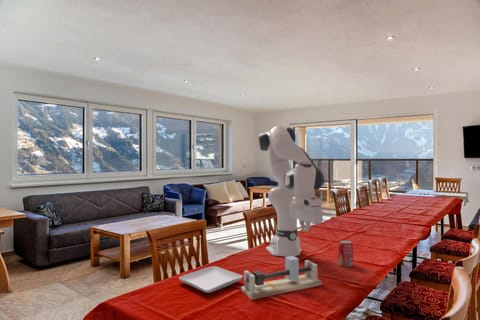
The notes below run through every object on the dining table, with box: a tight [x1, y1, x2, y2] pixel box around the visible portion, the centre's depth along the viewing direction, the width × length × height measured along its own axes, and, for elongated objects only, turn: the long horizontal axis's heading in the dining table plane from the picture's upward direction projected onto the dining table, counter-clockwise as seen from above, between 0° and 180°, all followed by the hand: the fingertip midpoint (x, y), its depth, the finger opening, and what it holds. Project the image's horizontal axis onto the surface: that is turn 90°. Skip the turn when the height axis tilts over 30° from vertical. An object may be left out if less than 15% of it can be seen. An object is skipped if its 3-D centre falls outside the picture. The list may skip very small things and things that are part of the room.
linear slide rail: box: [240, 259, 323, 301], centre depth 139 cm, size 10×34×8 cm, turn 114°
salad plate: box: [178, 265, 244, 294], centre depth 145 cm, size 21×21×3 cm
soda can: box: [338, 239, 354, 268], centre depth 166 cm, size 7×7×12 cm
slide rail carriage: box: [284, 256, 300, 281], centre depth 141 cm, size 4×4×9 cm
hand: (304, 230), depth 143 cm, fingers closed
